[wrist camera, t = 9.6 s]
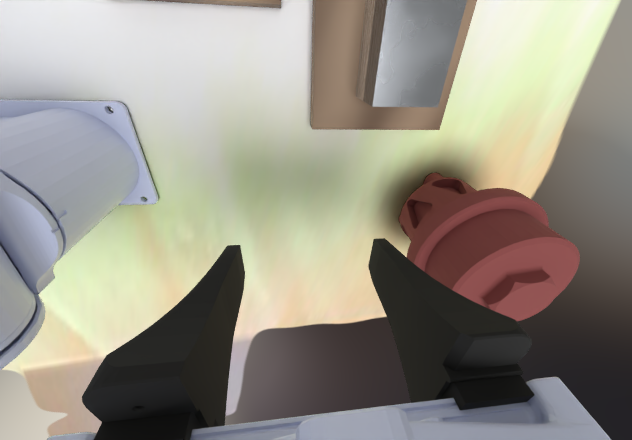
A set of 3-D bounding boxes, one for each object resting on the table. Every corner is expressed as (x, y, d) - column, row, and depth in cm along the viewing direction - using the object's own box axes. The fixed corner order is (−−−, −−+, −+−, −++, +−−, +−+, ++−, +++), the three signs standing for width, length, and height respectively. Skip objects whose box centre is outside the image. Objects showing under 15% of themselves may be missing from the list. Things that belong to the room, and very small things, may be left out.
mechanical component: (377, 247, 28) (381, 162, 22) (463, 234, 28) (489, 147, 23) (431, 359, 18) (464, 253, 12) (565, 337, 18) (657, 224, 13)
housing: (355, 96, 18) (372, 106, 14) (370, -44, 14) (397, -74, 11) (409, 97, 18) (437, 107, 15) (438, -39, 14) (484, -65, 11)
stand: (310, 124, 20) (312, 129, 19) (314, -84, 14) (317, -98, 13) (429, 125, 21) (439, 129, 20) (481, -68, 15) (499, -79, 14)
